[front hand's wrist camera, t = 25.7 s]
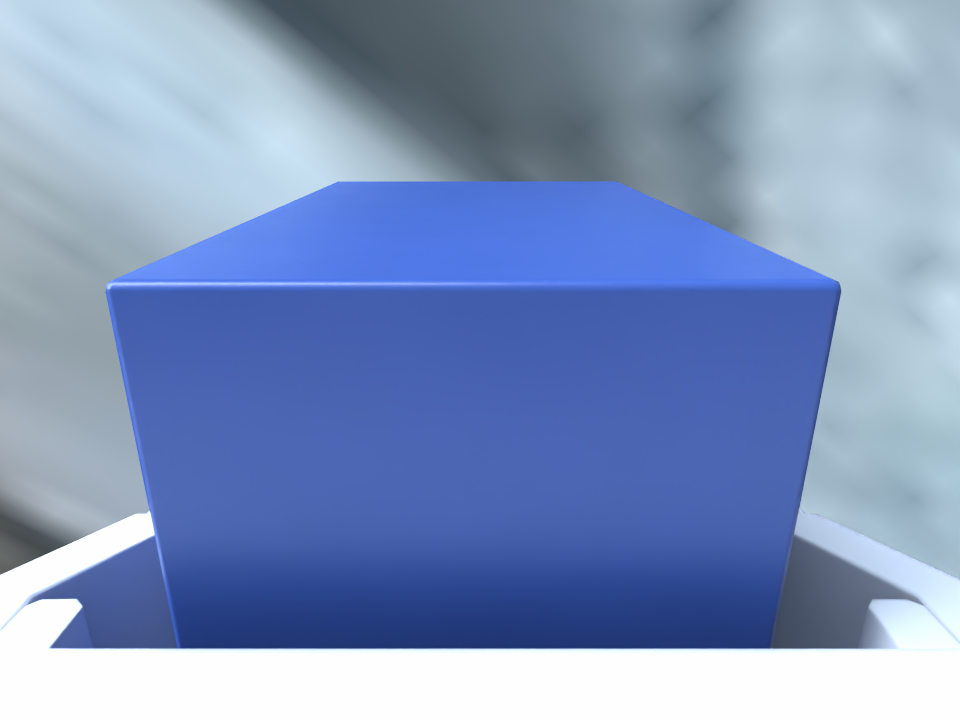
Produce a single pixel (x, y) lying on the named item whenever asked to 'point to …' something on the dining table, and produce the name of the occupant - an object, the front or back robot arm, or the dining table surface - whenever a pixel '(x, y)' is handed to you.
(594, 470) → the block
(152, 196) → the dining table surface
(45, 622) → the front robot arm
